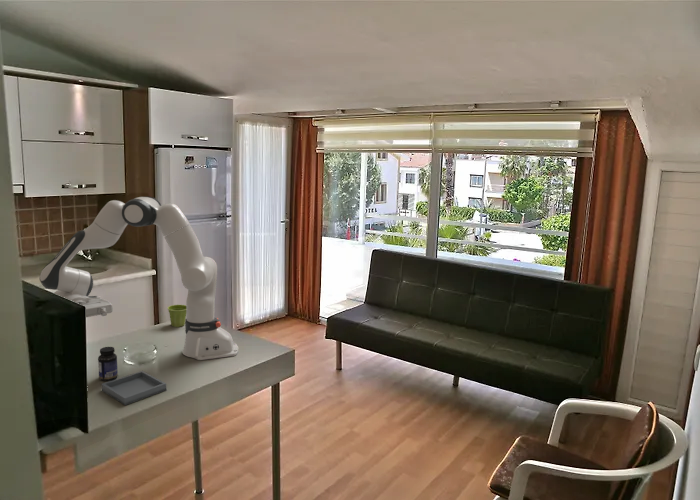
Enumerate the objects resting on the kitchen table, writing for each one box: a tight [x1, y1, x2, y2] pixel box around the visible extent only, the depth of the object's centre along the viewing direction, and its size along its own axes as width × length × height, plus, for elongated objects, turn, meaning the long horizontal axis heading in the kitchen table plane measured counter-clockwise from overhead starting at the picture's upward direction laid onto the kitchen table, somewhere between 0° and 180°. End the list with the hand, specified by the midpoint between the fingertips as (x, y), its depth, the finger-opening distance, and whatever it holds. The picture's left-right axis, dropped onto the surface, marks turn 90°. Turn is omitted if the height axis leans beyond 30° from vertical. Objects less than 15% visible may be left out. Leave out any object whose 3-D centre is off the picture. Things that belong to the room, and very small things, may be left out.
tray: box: [101, 370, 167, 406], centre depth 175 cm, size 15×15×2 cm
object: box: [167, 304, 186, 328], centre depth 241 cm, size 9×9×9 cm
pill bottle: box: [97, 346, 119, 382], centre depth 183 cm, size 6×6×11 cm
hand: (91, 316), depth 188 cm, fingers open, 8 cm apart
